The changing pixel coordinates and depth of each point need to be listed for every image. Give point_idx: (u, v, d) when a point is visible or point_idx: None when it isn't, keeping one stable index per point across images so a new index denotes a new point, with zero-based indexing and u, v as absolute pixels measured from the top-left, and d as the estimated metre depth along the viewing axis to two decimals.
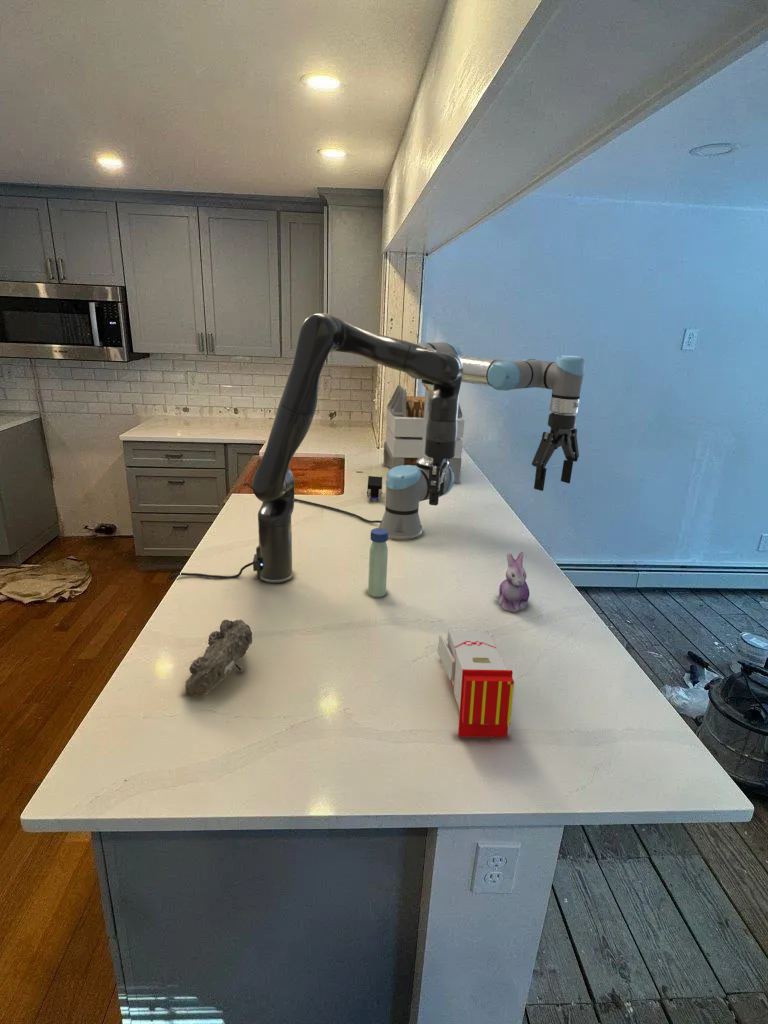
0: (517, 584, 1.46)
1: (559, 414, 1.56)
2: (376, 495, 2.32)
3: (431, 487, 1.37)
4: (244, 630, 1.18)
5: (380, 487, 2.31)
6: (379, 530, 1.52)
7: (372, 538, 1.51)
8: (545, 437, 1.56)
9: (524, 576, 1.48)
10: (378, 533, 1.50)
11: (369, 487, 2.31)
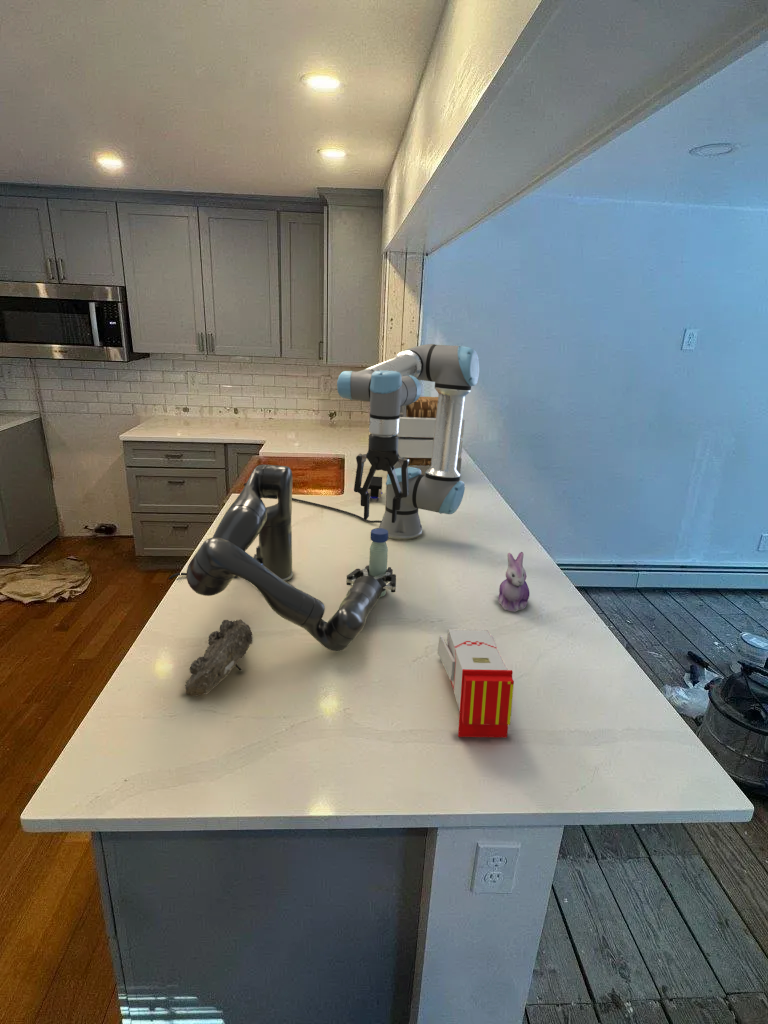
0: (517, 584, 1.46)
1: None
2: (376, 495, 2.32)
3: None
4: (244, 630, 1.18)
5: (380, 487, 2.31)
6: (379, 530, 1.52)
7: (372, 538, 1.51)
8: (407, 465, 1.44)
9: (524, 576, 1.48)
10: (378, 533, 1.50)
11: (369, 487, 2.31)
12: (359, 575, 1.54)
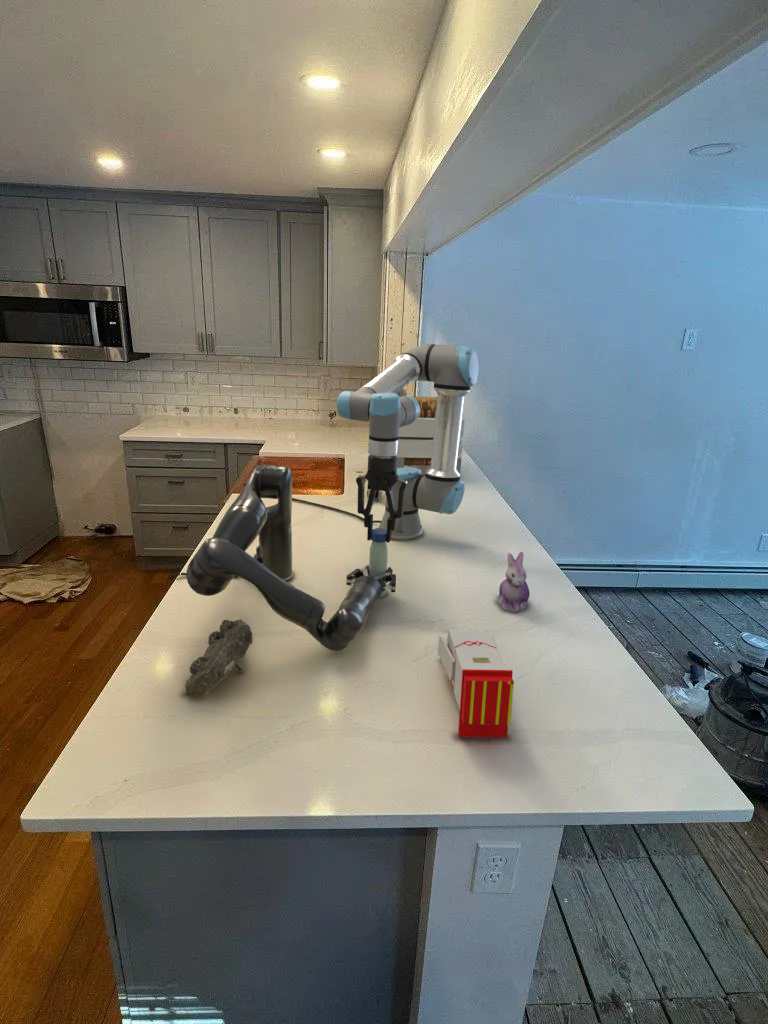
0: (517, 584, 1.46)
1: None
2: (376, 495, 2.32)
3: None
4: (244, 630, 1.18)
5: None
6: (379, 530, 1.52)
7: (372, 538, 1.51)
8: (405, 487, 1.46)
9: (524, 576, 1.48)
10: (378, 533, 1.50)
11: (369, 487, 2.31)
12: (359, 575, 1.54)
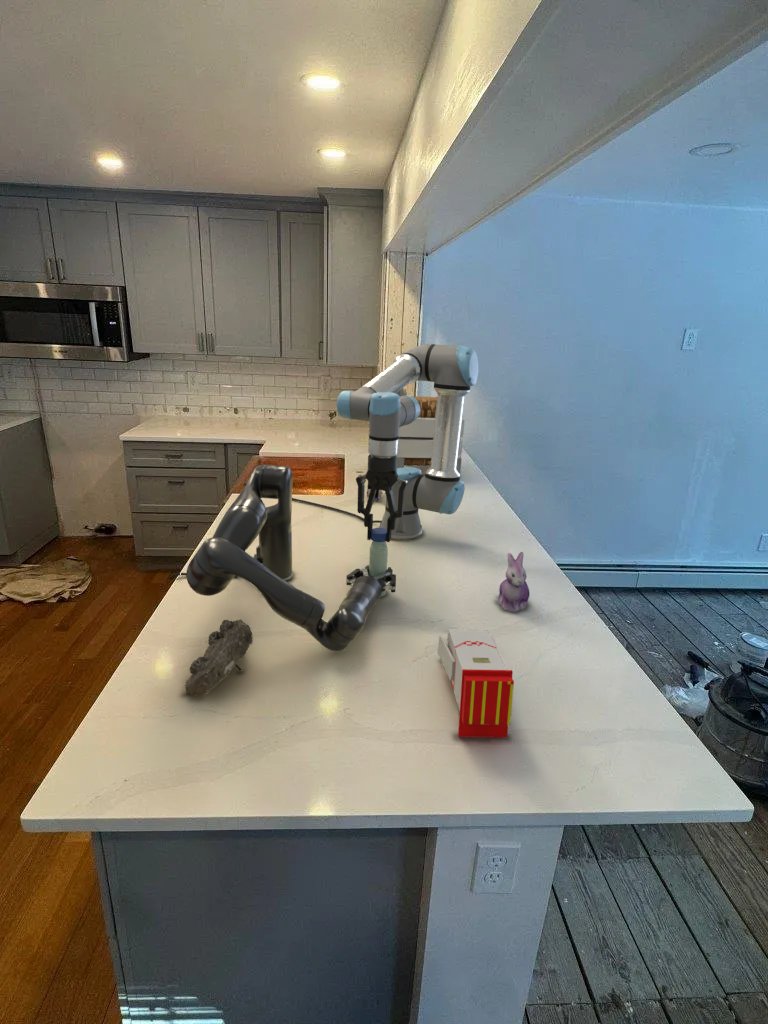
0: (517, 584, 1.46)
1: None
2: (376, 495, 2.32)
3: None
4: (244, 630, 1.18)
5: None
6: (377, 531, 1.51)
7: (386, 539, 1.51)
8: (405, 486, 1.46)
9: (524, 576, 1.48)
10: (385, 530, 1.52)
11: (369, 487, 2.31)
12: (359, 575, 1.54)
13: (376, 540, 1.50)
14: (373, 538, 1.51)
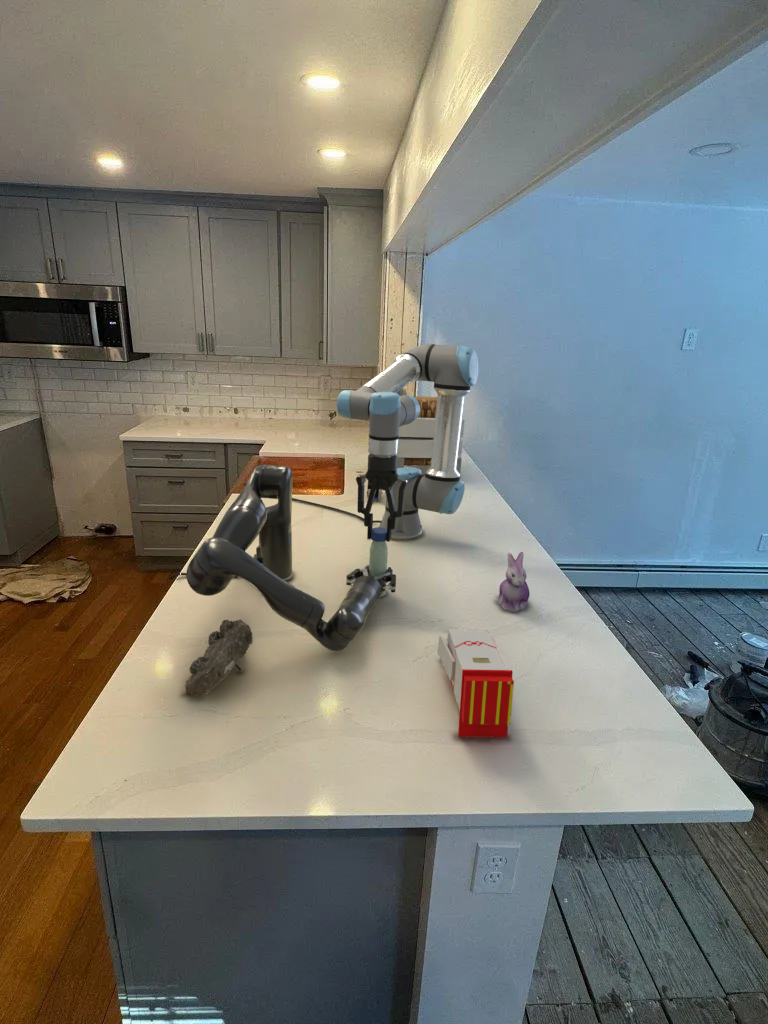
0: (517, 584, 1.46)
1: None
2: (376, 495, 2.32)
3: None
4: (244, 630, 1.18)
5: None
6: (381, 531, 1.51)
7: None
8: (405, 486, 1.46)
9: (524, 576, 1.48)
10: (376, 528, 1.53)
11: (369, 487, 2.31)
12: (359, 575, 1.54)
13: None
14: None
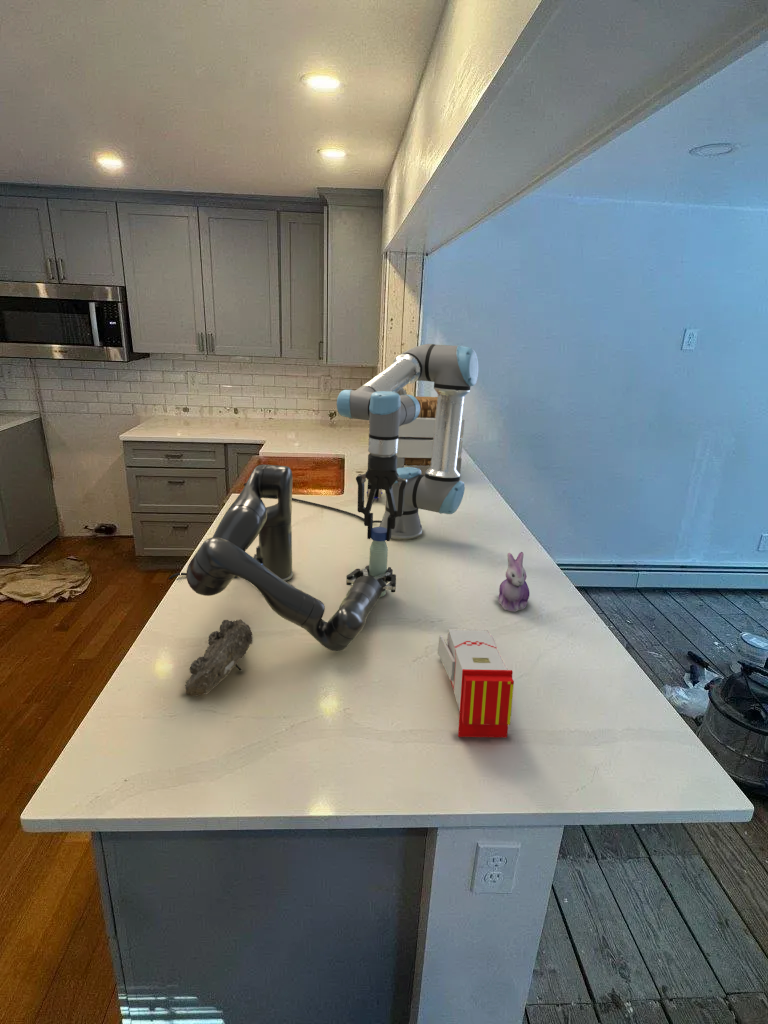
0: (517, 584, 1.46)
1: None
2: (376, 495, 2.32)
3: None
4: (244, 630, 1.18)
5: None
6: (380, 529, 1.52)
7: None
8: None
9: (524, 576, 1.48)
10: (375, 531, 1.50)
11: (369, 487, 2.31)
12: (359, 575, 1.54)
13: None
14: None
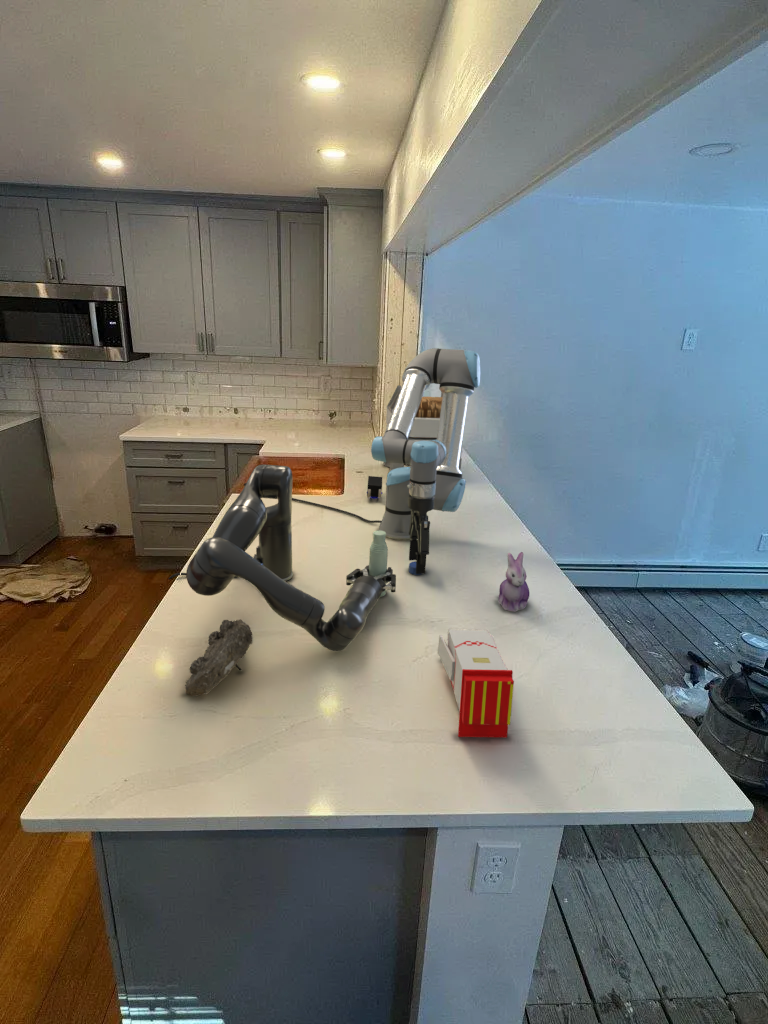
0: (517, 584, 1.46)
1: None
2: (376, 495, 2.32)
3: None
4: (244, 630, 1.18)
5: (380, 487, 2.31)
6: (414, 564, 1.71)
7: None
8: None
9: (524, 576, 1.48)
10: None
11: (369, 487, 2.31)
12: (359, 575, 1.54)
13: (411, 572, 1.70)
14: (409, 570, 1.71)
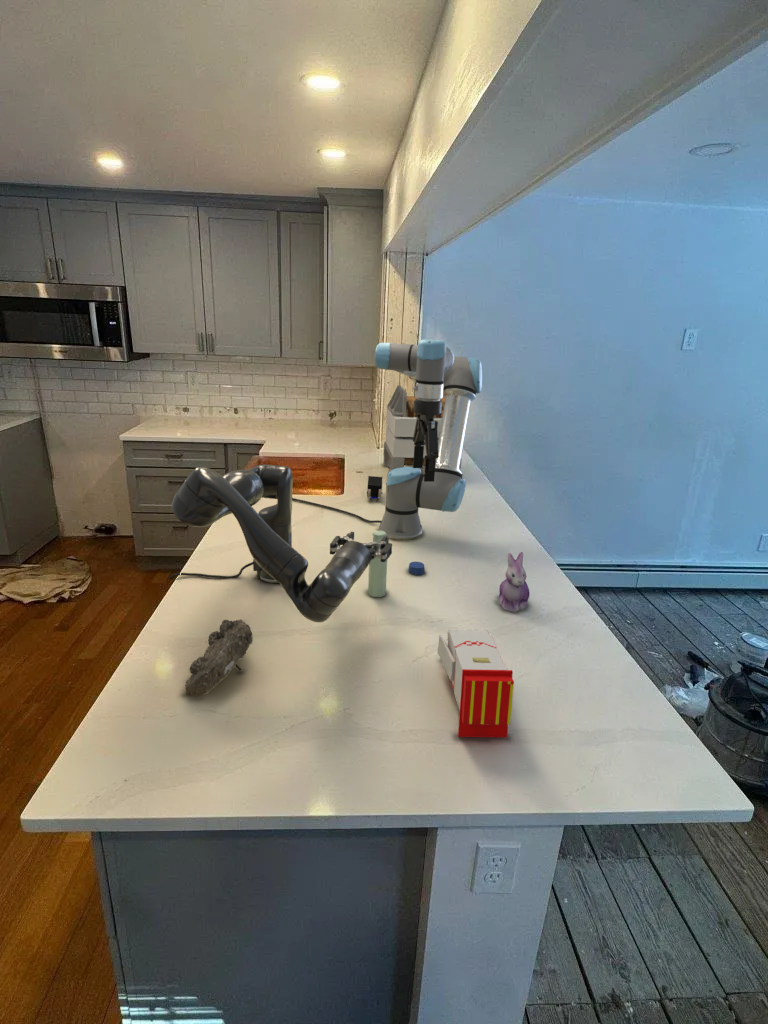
0: (517, 584, 1.46)
1: None
2: (376, 495, 2.32)
3: (391, 550, 1.36)
4: (244, 630, 1.18)
5: (380, 487, 2.31)
6: (414, 564, 1.71)
7: (420, 572, 1.70)
8: None
9: (524, 576, 1.48)
10: (421, 565, 1.71)
11: (369, 487, 2.31)
12: (339, 543, 1.38)
13: (411, 572, 1.70)
14: (409, 570, 1.71)
